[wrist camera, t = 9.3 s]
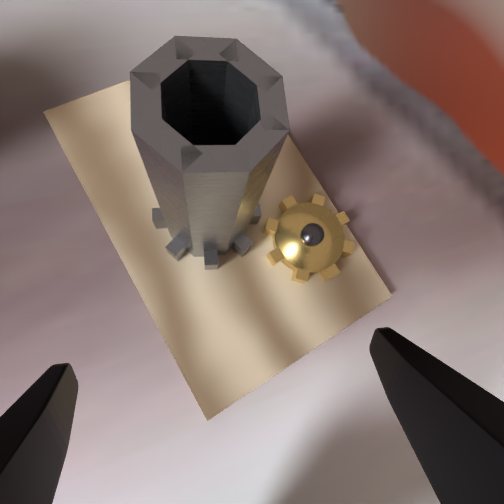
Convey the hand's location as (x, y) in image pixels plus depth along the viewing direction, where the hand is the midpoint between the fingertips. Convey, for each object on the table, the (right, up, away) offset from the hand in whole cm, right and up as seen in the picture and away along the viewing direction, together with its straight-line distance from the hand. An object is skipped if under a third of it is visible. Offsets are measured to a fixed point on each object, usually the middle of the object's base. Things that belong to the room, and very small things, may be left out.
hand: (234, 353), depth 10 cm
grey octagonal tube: (-3, +5, +14) cm, 15 cm away
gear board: (-2, +6, +15) cm, 17 cm away
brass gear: (+5, +4, +15) cm, 16 cm away
